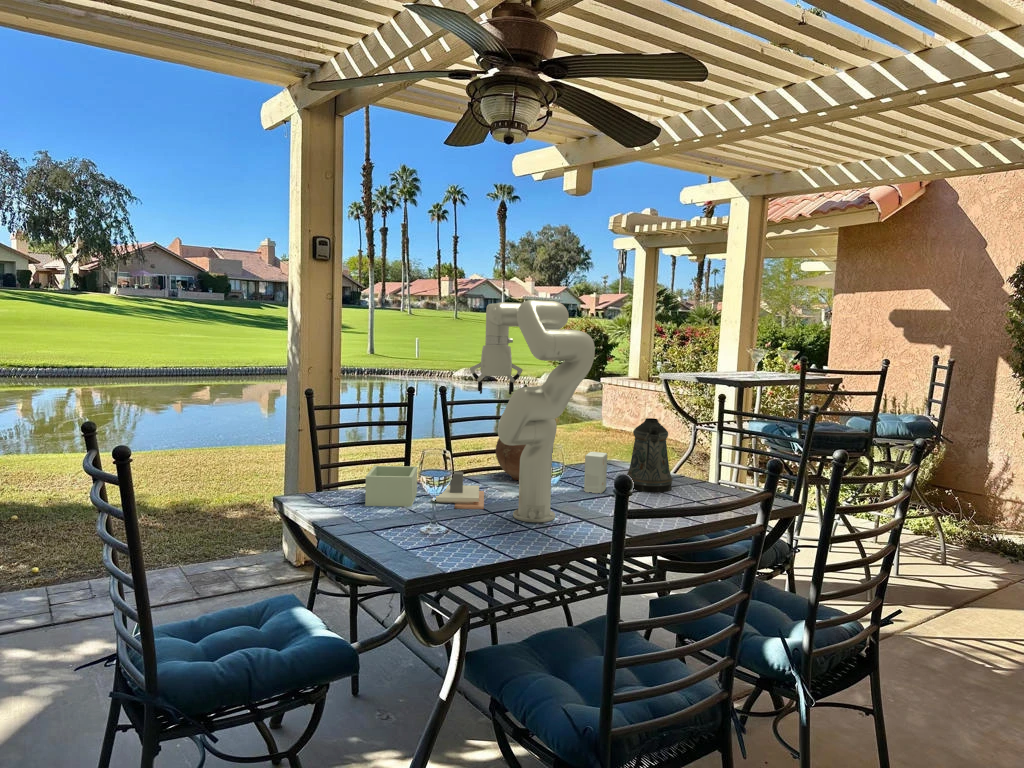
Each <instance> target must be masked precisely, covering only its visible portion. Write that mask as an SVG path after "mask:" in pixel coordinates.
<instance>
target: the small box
mask: <svg viewBox="0 0 1024 768" xmlns="http://www.w3.org/2000/svg"><path fill="white" fill-rule="evenodd" d="M607 469H608V453H607V452H599V451H589V452H588V453H587V454H585V456H584V480H583V481H584V485H583V492H584V491H585V492H584V493H589V492H592V493H593V494H598V493H600V494H603V492H605V490H607V474H608V473H607V472H608V470H607ZM592 493H591V494H592Z"/></svg>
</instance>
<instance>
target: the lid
mask: <svg viewBox="0 0 1024 768" xmlns="http://www.w3.org/2000/svg"><path fill="white" fill-rule="evenodd" d="M453 472H454V474H453V478H452V480H451V481H450V480H449V484H447V485H448V486H447V488H446V490H445V491H444V492H443V493H442V494H440V495H439V496H436V501H435V502H437V503H445V504H446V503H452V504H453V503H454V504H455V503H473V502H479V491H480V485H471V484H470V485H469V484H468V485H464V471H453Z"/></svg>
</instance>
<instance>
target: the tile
mask: <svg viewBox="0 0 1024 768" xmlns="http://www.w3.org/2000/svg"><path fill="white" fill-rule="evenodd" d="M484 508H485V491H484V490H479V502H473V503H454V506H453V509H455V510H456V509H457V510H460V509H463V510H484Z"/></svg>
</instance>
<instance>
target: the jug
mask: <svg viewBox="0 0 1024 768" xmlns="http://www.w3.org/2000/svg"><path fill="white" fill-rule="evenodd" d="M525 446H526V445H506V444H504V443H503V442H502V441H501V440H500V439H499V438H498V439H497V441H496V445H495V457H496V460H497V462H498V464H499V466H500V468H501V469H502V470H503V472H505V473H506V474H507V475H508V476H510V478H511V479H512V480H514V481H517V480H518V481H517V482H519V474H520V457H521V454H522V451H523V450H524V448H525Z"/></svg>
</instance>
